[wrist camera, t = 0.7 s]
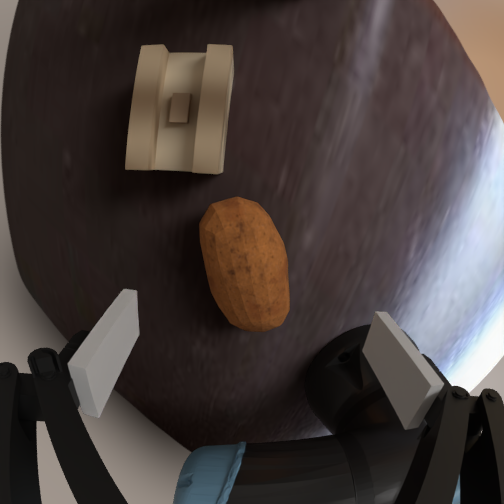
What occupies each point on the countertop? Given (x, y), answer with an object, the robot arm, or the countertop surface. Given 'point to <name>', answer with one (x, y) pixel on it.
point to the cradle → (180, 110)
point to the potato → (245, 264)
